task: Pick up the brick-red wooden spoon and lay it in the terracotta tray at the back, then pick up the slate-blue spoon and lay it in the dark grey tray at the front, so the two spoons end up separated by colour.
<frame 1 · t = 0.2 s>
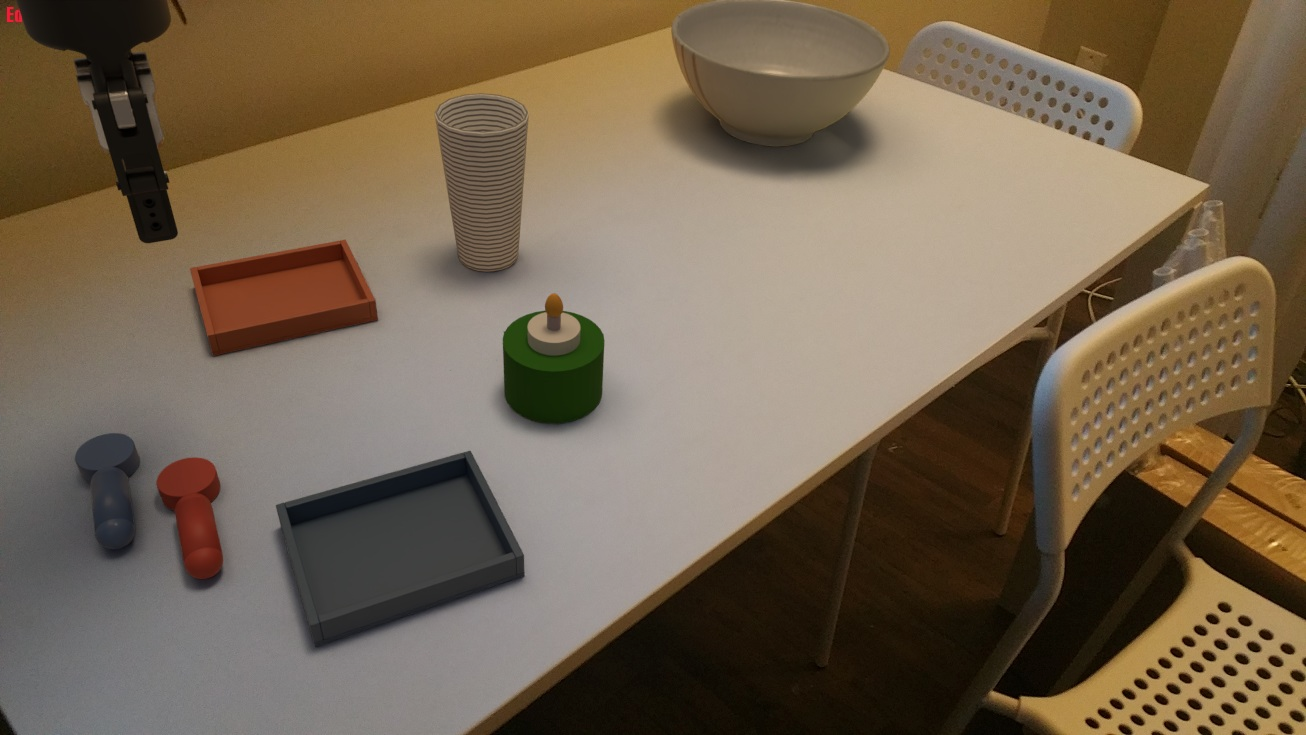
hand: (152, 206, 64), 20 cm above the table, tool pointing down, fingers open, 8 cm apart
red spoon: (196, 515, 71), on the table
decorative bowl: (766, 127, 128), on the table
cup: (488, 258, 100), on the table
red tray: (285, 303, 91), on the table
blue spoon: (113, 488, 72), on the table
dark grey tray: (400, 550, 69), on the table
candle: (553, 392, 84), on the table
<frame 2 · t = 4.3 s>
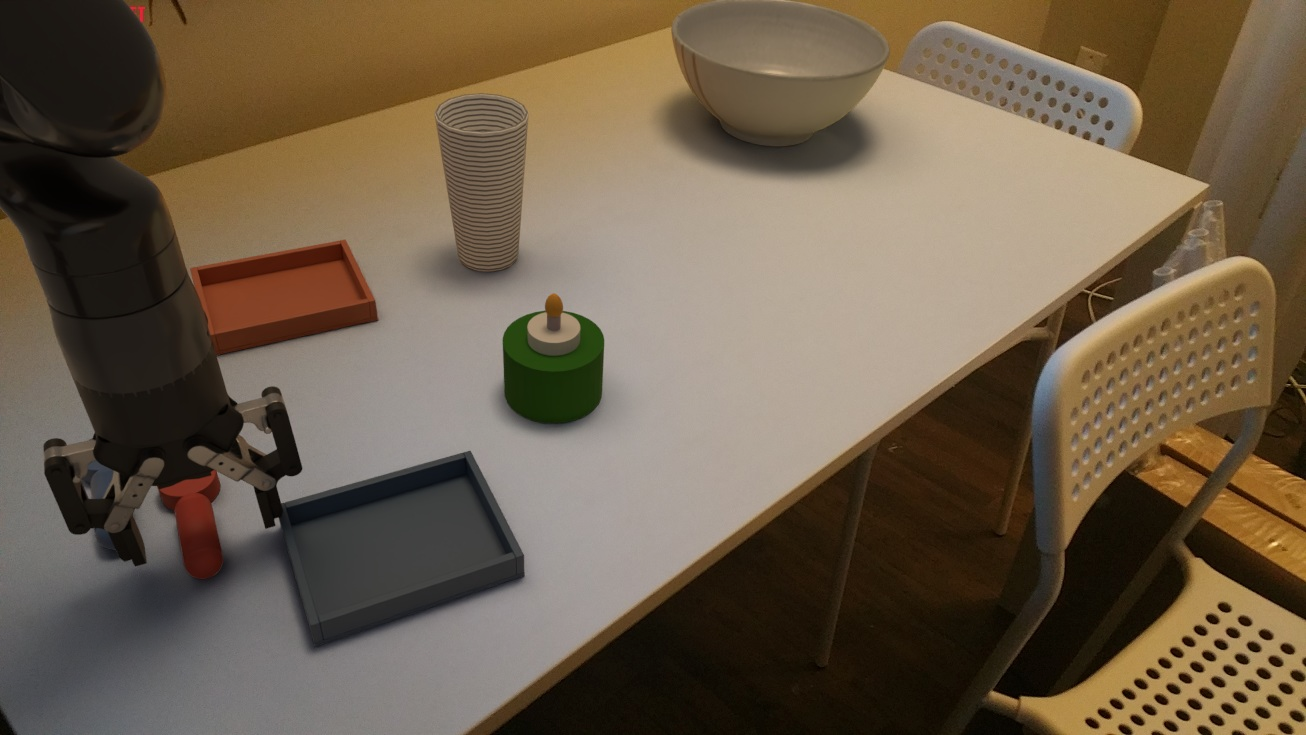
hand: (206, 537, 67), 2 cm above the table, tool pointing down, fingers open, 7 cm apart
nothing on the table moved.
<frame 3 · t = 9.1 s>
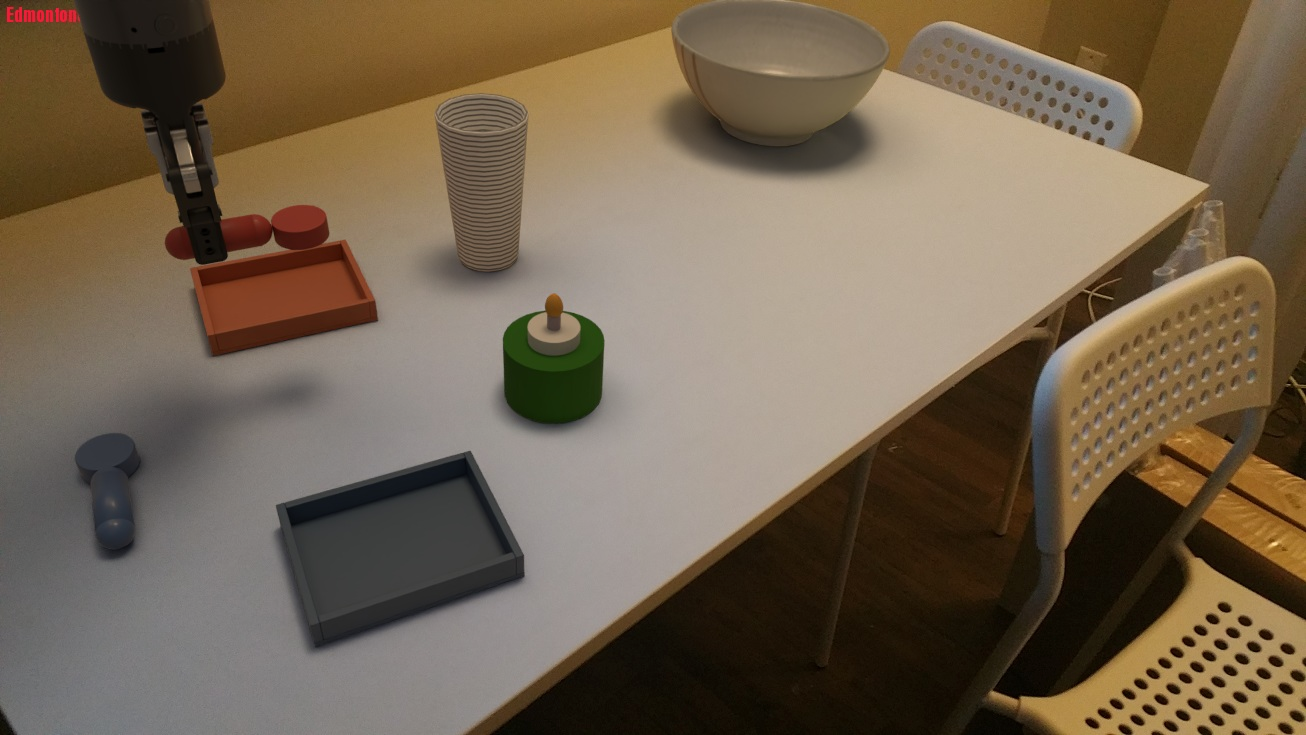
hand: (209, 249, 73), 14 cm above the table, tool pointing down, fingers closed on red spoon, 2 cm apart
red spoon: (268, 242, 74), point 13 cm above the table, touching gripper
everything else where it was.
when the fingers open (2 cm above the table, at t = 13.8 s): red spoon stays where it is, resting on red tray.
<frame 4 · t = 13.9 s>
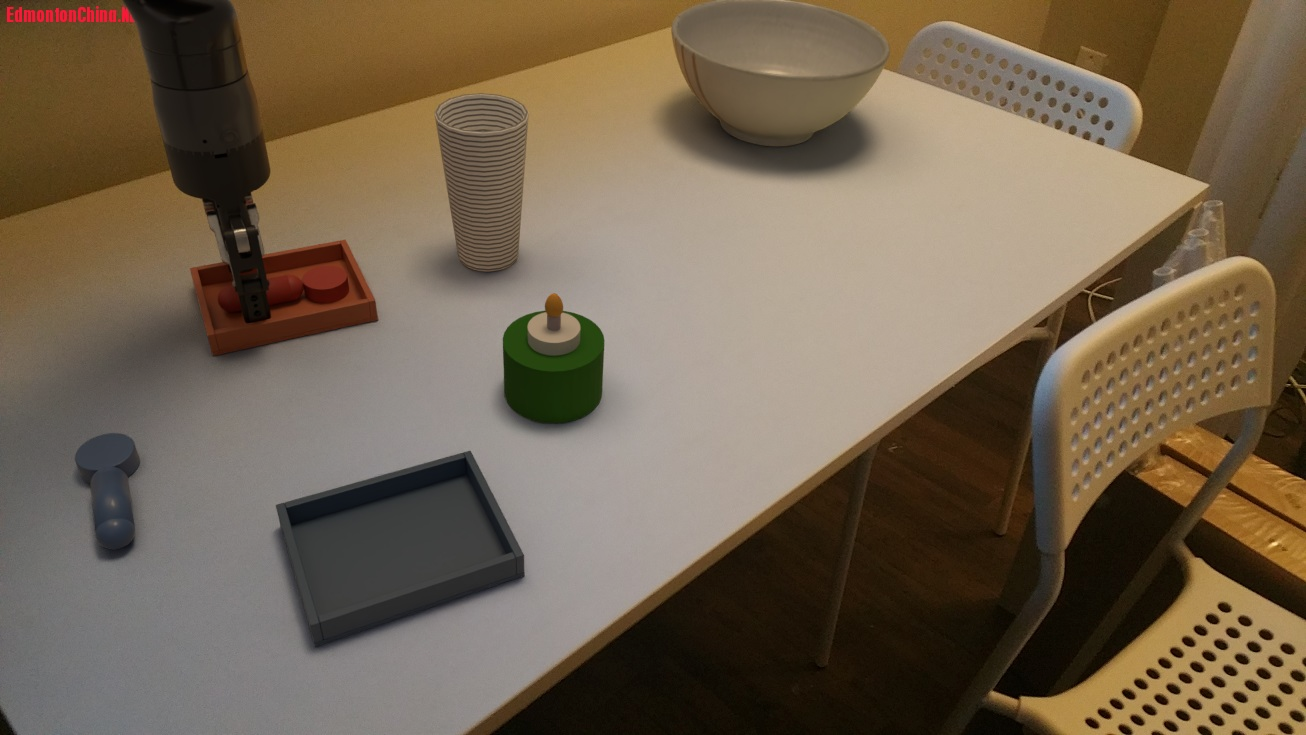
hand: (249, 295, 89), 2 cm above the table, tool pointing down, fingers open, 8 cm apart
red spoon: (299, 296, 91), resting on red tray
everything else where it was.
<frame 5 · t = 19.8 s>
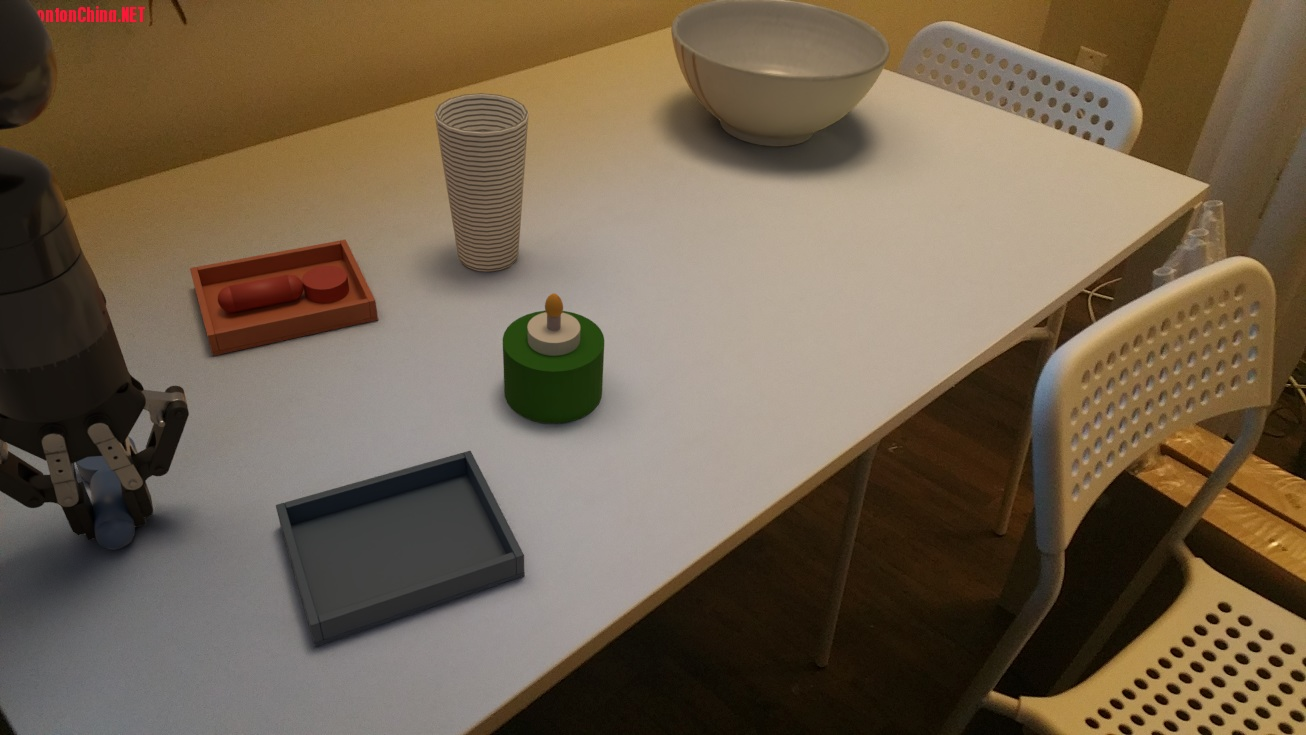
hand: (117, 523, 69), 0 cm above the table, tool pointing down, fingers closed on blue spoon, 2 cm apart
blue spoon: (113, 488, 72), on the table, touching gripper
everything else where it was.
when the fingers open (1 cm above the table, at t = 27.3 s): blue spoon stays where it is, resting on dark grey tray.
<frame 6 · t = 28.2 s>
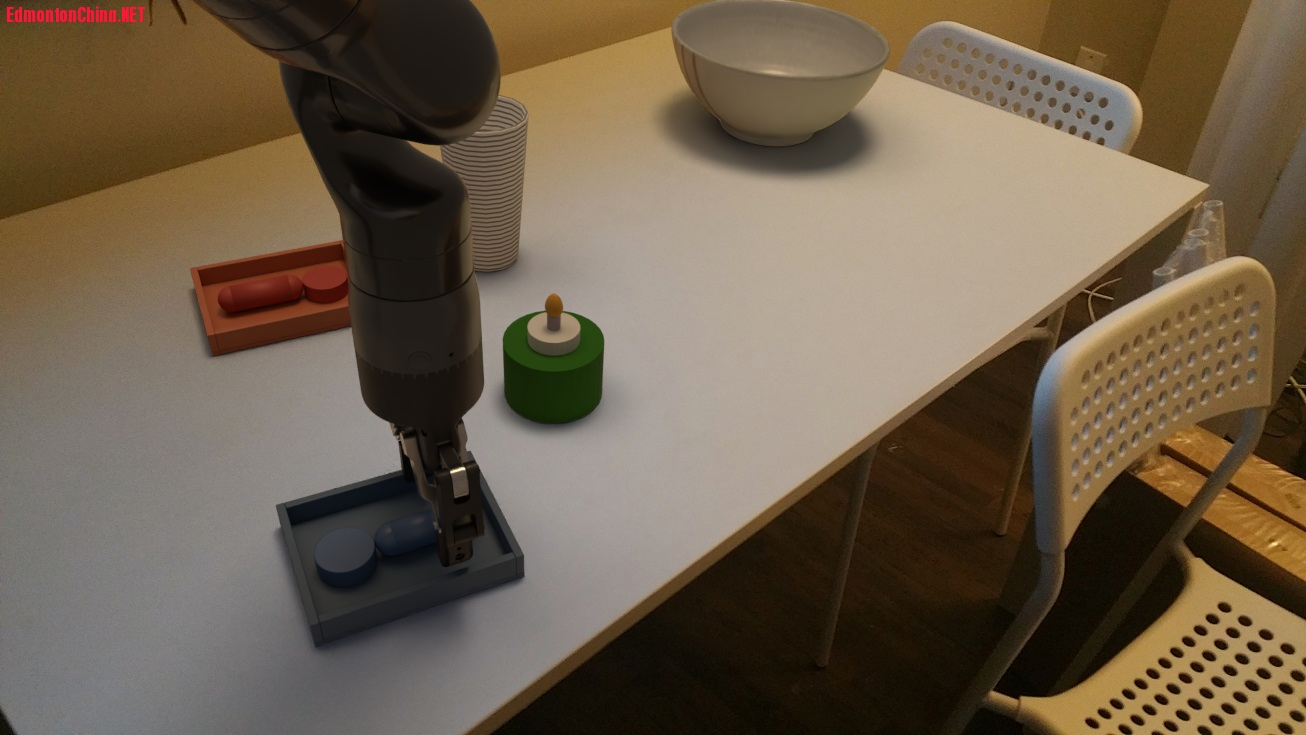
hand: (436, 516, 69), 2 cm above the table, tool pointing down, fingers open, 8 cm apart
blue spoon: (383, 553, 68), resting on dark grey tray
everything else where it was.
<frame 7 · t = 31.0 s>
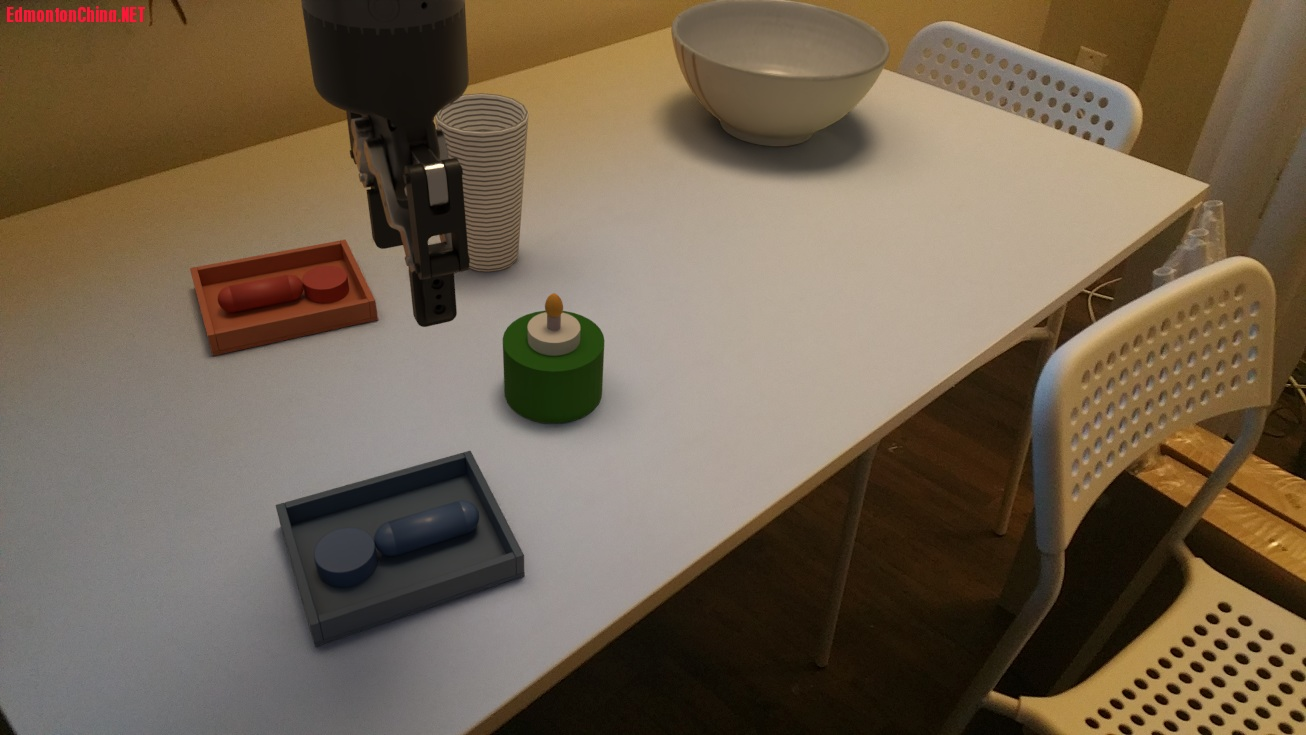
hand: (413, 280, 57), 22 cm above the table, tool pointing down, fingers open, 8 cm apart
nothing on the table moved.
at the end: red spoon inside the target area in the red tray (1.3 cm from its centre), point 0.4 cm above the red tray's base; blue spoon inside the target area in the dark grey tray (1.2 cm from its centre), point 0.4 cm above the dark grey tray's base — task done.
